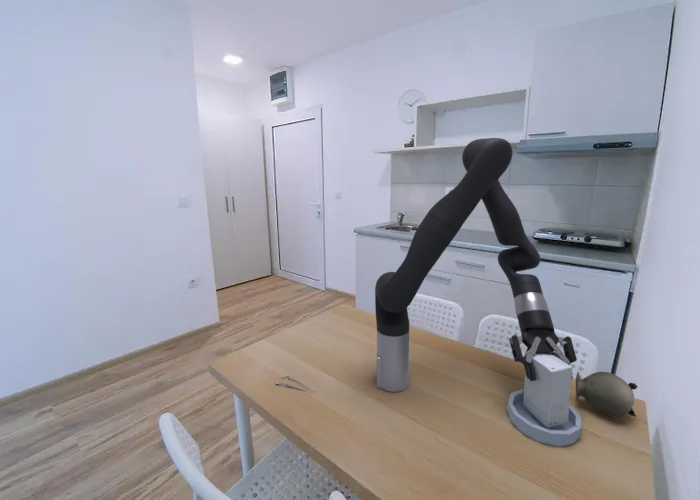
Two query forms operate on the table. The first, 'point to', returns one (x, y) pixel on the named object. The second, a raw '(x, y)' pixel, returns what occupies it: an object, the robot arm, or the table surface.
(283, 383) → the tweezers
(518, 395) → the bowl
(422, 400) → the table surface
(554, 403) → the skincare box
